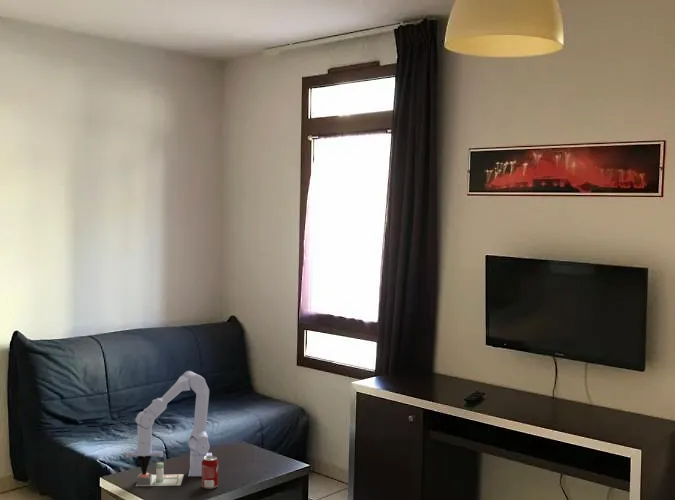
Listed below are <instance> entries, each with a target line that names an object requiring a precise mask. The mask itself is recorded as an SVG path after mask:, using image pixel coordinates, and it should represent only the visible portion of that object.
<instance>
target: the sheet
mask: <svg viewBox="0 0 675 500" xmlns="http://www.w3.org/2000/svg"><path fill="white" fill-rule="evenodd" d="M184 475H185V474H184V473H183V474H182V473H181V474H179V473H178V474H176V473H175V474H164V475H163V478H164V481H163V482H162V483H156V474H152V482H151V484H150V485H137V483H136V484H135V487H154V486H156V487H157V486H159V487H161V486H165V487H167V486H181V484H182V482H183V480H184Z"/></svg>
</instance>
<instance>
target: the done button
mask: <svg viewBox="0 0 675 500" xmlns="http://www.w3.org/2000/svg"><path fill="white" fill-rule="evenodd" d="M139 474H140V478H149V474H150V472H148V471H147V473H146V475H142V472H141V473H139Z"/></svg>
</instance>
